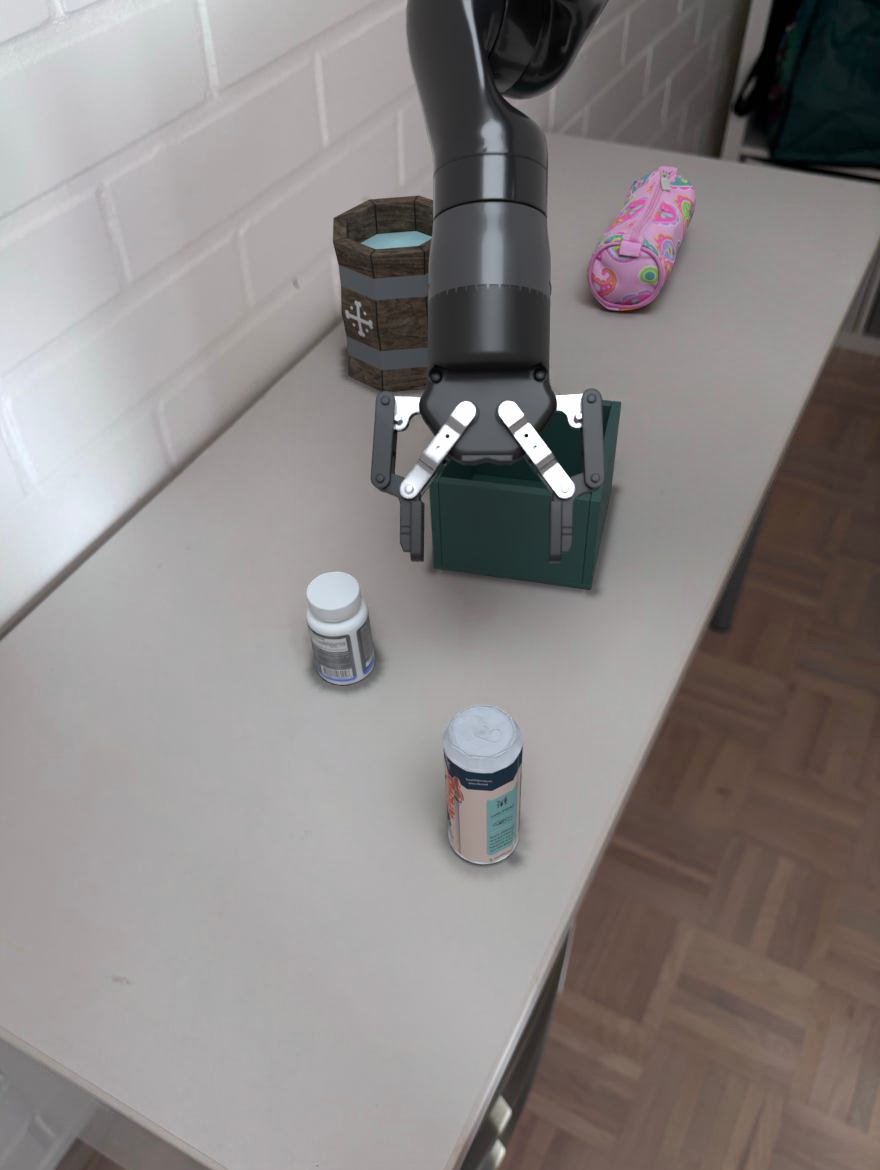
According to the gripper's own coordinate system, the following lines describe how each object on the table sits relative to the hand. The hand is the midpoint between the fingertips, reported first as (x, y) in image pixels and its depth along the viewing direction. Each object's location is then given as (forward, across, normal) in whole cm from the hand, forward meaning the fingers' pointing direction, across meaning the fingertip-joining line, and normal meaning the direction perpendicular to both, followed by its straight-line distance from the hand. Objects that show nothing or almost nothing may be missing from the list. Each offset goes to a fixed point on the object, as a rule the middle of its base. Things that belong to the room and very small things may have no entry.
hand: (485, 562), depth 61 cm
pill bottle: (+8, -11, +16) cm, 21 cm away
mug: (-23, -7, +47) cm, 53 cm away
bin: (-4, +3, +28) cm, 28 cm away
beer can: (+19, 0, +5) cm, 19 cm away
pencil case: (-37, +17, +60) cm, 73 cm away
